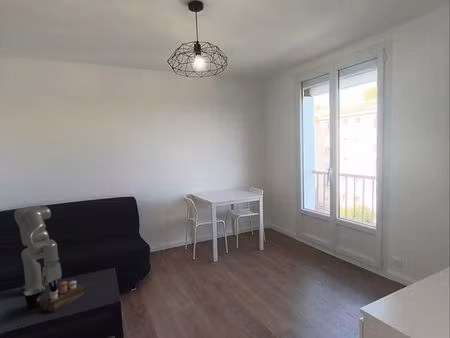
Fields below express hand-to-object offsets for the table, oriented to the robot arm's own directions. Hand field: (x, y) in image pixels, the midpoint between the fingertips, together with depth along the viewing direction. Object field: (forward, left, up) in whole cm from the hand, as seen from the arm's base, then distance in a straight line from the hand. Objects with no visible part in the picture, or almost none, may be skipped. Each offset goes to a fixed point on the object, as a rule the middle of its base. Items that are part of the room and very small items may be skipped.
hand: (53, 291), depth 174 cm
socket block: (0, +7, -11) cm, 13 cm away
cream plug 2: (0, +14, -9) cm, 17 cm away
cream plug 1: (0, 0, -8) cm, 8 cm away
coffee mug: (-13, -2, -11) cm, 17 cm away
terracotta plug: (0, +7, -6) cm, 9 cm away
